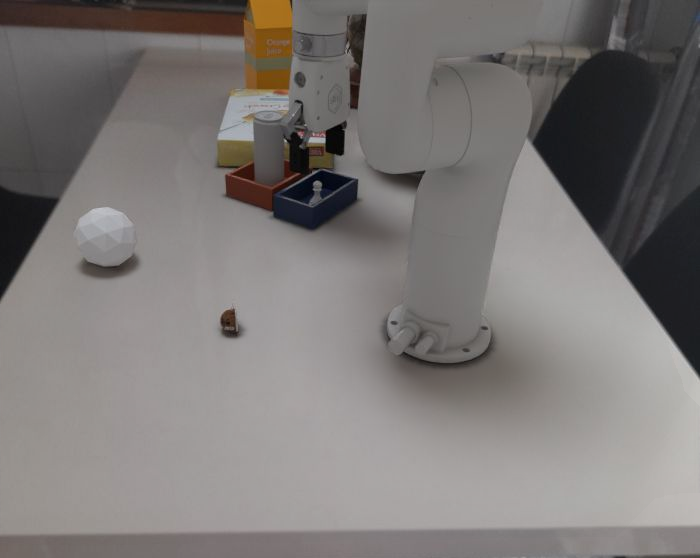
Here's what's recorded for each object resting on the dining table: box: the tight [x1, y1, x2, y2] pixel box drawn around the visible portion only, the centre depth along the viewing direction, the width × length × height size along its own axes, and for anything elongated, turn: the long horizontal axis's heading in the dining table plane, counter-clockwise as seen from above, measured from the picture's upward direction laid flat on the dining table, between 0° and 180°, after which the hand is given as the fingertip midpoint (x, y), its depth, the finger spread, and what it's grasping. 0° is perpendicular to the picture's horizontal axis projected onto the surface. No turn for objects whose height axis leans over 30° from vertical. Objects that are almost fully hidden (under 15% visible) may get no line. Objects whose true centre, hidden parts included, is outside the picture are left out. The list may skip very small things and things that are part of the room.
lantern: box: [346, 14, 367, 110], centre depth 152 cm, size 19×19×30 cm
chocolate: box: [219, 299, 239, 334], centre depth 85 cm, size 3×2×4 cm
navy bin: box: [272, 168, 359, 230], centre depth 113 cm, size 13×7×4 cm, turn 149°
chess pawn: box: [309, 181, 322, 205], centre depth 112 cm, size 3×2×4 cm
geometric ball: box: [73, 206, 138, 268], centre depth 95 cm, size 8×8×8 cm
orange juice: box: [243, 0, 293, 90], centre depth 153 cm, size 8×9×20 cm
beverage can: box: [253, 110, 284, 187], centre depth 114 cm, size 5×5×12 cm
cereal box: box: [216, 88, 334, 169], centre depth 135 cm, size 20×6×28 cm
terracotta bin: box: [224, 159, 313, 212], centre depth 117 cm, size 11×9×4 cm
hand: (317, 162), depth 110 cm, fingers open, 9 cm apart
